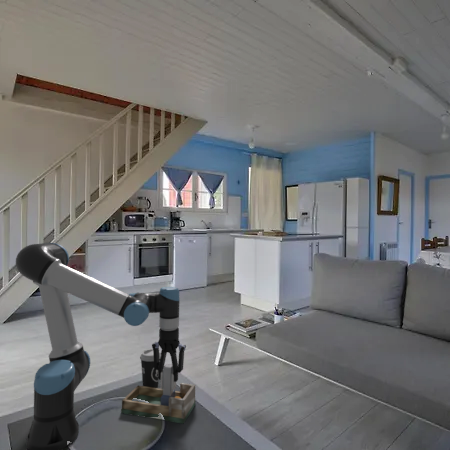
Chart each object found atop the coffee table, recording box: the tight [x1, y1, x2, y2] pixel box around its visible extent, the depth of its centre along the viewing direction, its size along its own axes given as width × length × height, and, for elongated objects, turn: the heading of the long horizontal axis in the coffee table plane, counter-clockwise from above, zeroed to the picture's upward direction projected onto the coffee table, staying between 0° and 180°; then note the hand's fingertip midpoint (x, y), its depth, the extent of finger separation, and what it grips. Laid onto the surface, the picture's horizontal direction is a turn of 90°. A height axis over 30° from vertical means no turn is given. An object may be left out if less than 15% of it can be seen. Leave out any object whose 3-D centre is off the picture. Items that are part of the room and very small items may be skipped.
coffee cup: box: [139, 348, 161, 388], centre depth 140 cm, size 10×10×15 cm
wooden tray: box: [120, 382, 196, 425], centre depth 123 cm, size 25×13×8 cm, turn 76°
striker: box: [161, 363, 176, 406], centre depth 122 cm, size 3×7×15 cm, turn 166°
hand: (168, 388), depth 122 cm, fingers open, 4 cm apart
